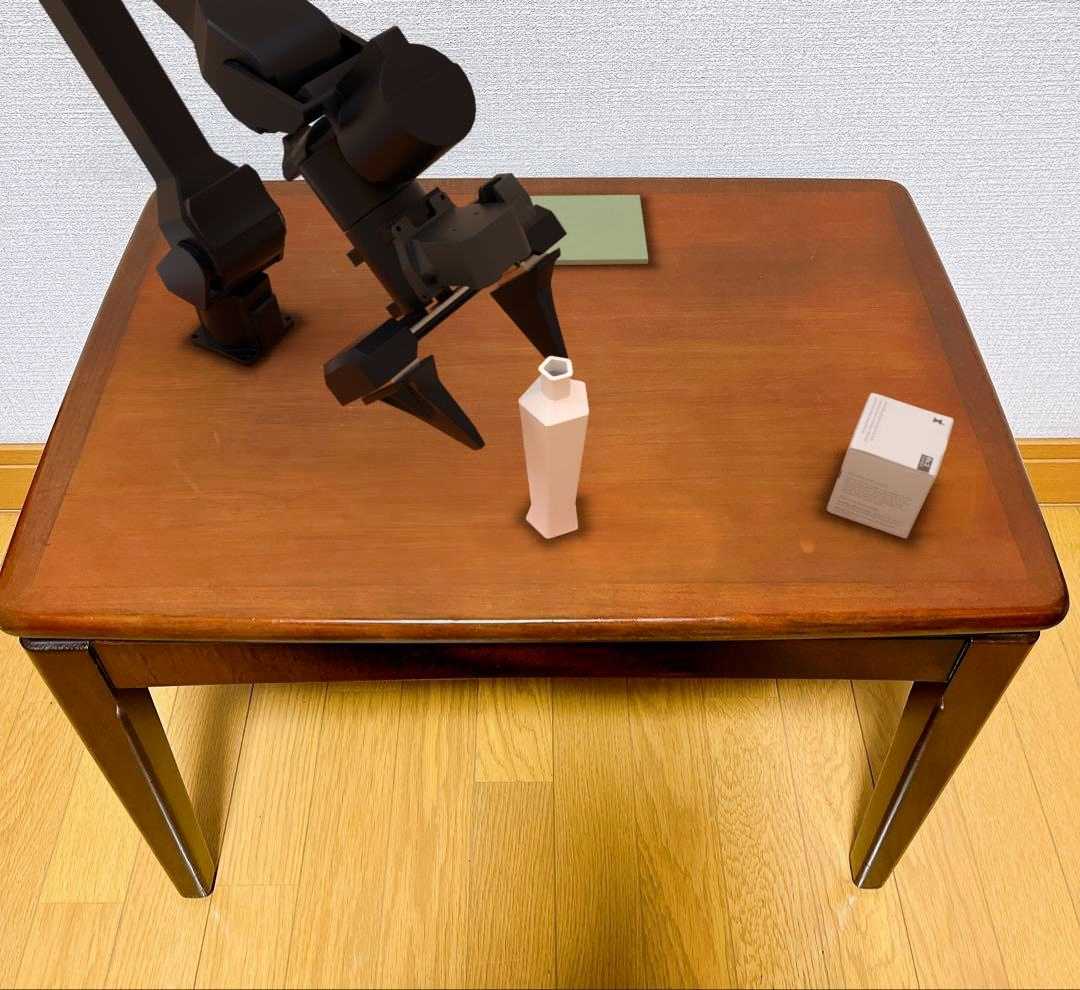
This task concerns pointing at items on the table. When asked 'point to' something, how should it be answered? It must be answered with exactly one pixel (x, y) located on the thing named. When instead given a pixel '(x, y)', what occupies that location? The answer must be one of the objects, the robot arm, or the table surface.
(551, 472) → the perfume bottle
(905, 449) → the product carton
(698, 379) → the table surface
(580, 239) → the mat
